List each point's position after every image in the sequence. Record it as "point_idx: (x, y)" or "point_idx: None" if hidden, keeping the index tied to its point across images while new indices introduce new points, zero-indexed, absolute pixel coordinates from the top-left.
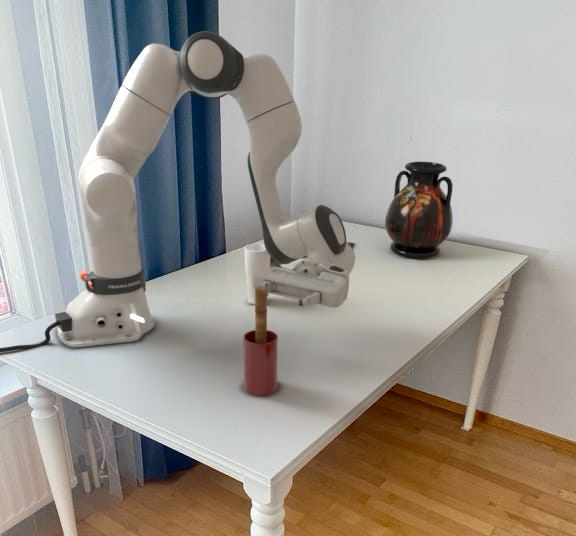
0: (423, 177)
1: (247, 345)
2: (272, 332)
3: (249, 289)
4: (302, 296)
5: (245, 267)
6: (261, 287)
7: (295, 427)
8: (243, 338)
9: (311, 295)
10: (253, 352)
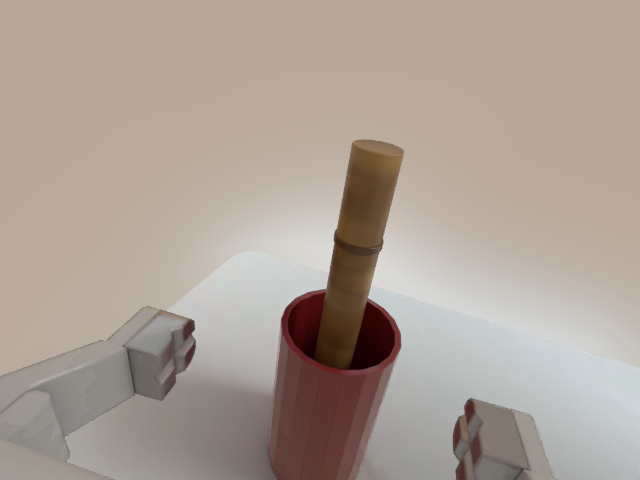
0: None
1: None
2: (310, 360)
3: None
4: (162, 344)
5: None
6: (378, 147)
7: (211, 320)
8: (387, 313)
9: (77, 361)
10: None
